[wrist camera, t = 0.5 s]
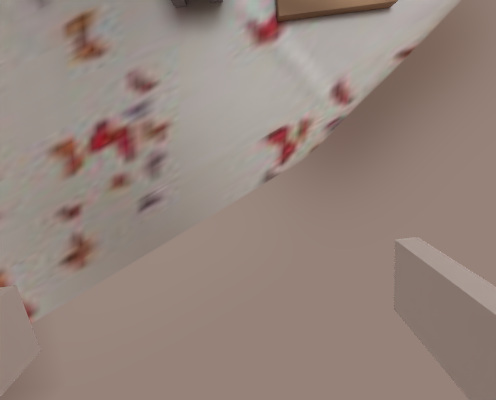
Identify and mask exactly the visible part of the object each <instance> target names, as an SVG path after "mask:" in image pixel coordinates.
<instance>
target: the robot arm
mask: <svg viewBox="0 0 496 400" xmlns="http://www.w3.org/2000/svg"><path fill="white" fill-rule="evenodd" d="M394 275H395V276H394V310H395V311H396V312H397V313H398V315H399V316H400V317H401V318H402V319H403V321H404V322H405V323H406V324H407V325H408V327H409V328H410V329H411V330H412V331H413V333H414V334H415V335H416V336H417V338H418V339H419V340H420V341H421V342H422V344H423V345H424V346H425V347H426V348H427V350H428V351H429V352H430V353H431V355H432V356H433V357H434V358H435V359H436V361H437V362H438V363H439V364H440V365H441V367H442V368H443V369H444V370H445V371H446V373H447V374H448V375H449V376H450V377H451V379H452V380H453V381H454V382H455V383H456V385H457V386H458V387H459V388H460V389H461V391H462V392H463V393H464V394H465V396H466V397H467V398H468V399H469V400H496V287H495V286H494V285H492V284H491V283H489V282H487V281H486V280H484V279H482V278H481V277H480V276H478V275H476V274H475V273H473V272H472V271H470V270H468V269H467V268H465V267H464V266H462V265H461V264H459V263H457V262H456V261H454V260H453V259H451V258H450V257H448V256H446V255H445V254H443V253H442V252H440V251H439V250H437V249H435V248H434V247H432V246H431V245H429V244H428V243H426V242H424V241H423V240H421V239H420V238H418V237H414V238H406V239H397V240H395V274H394ZM40 351H41V350H40V347H39V344H38V342H37V339H36V336H35V334H34V332H33V329H32V326H31V323H30V321H29V318H28V315H27V313H26V310H25V307H24V305H23V302H22V299H21V297H20V294H19V291H18V289H17V286H9V287H1V288H0V397H1V395H2V394H3V393H4V392H5V391H6V390H7V389H8V388H9V386H10V385H11V384H12V383H13V382H14V381H15V380H16V379H17V377H18V376H19V375H20V374H21V373H22V372H23V371H24V370H25V368H26V367H27V366H28V365H29V364H30V363H31V362H32V361H33V359H34V358H35V357H36V356H37V355H38V354H39V352H40Z"/></svg>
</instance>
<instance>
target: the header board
mask: <svg viewBox="0 0 496 400" xmlns="http://www.w3.org/2000/svg"><path fill="white" fill-rule="evenodd" d="M397 1H398V0H276V12H277V22H278V21H286V20H294V19H302V18H309V17H317V16H325V15H333V14H341V13H348V12H356V11H364V10H372V9H380V8H388V7H391V6H392V5H393V4H394V3H396V2H397Z"/></svg>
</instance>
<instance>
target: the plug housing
mask: <svg viewBox="0 0 496 400" xmlns="http://www.w3.org/2000/svg"><path fill="white" fill-rule="evenodd" d="M171 1H172V3H173V5H174V6H175V8H178V7H185V6H187V5H186V0H171ZM216 2H223V0H211V3H216Z"/></svg>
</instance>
